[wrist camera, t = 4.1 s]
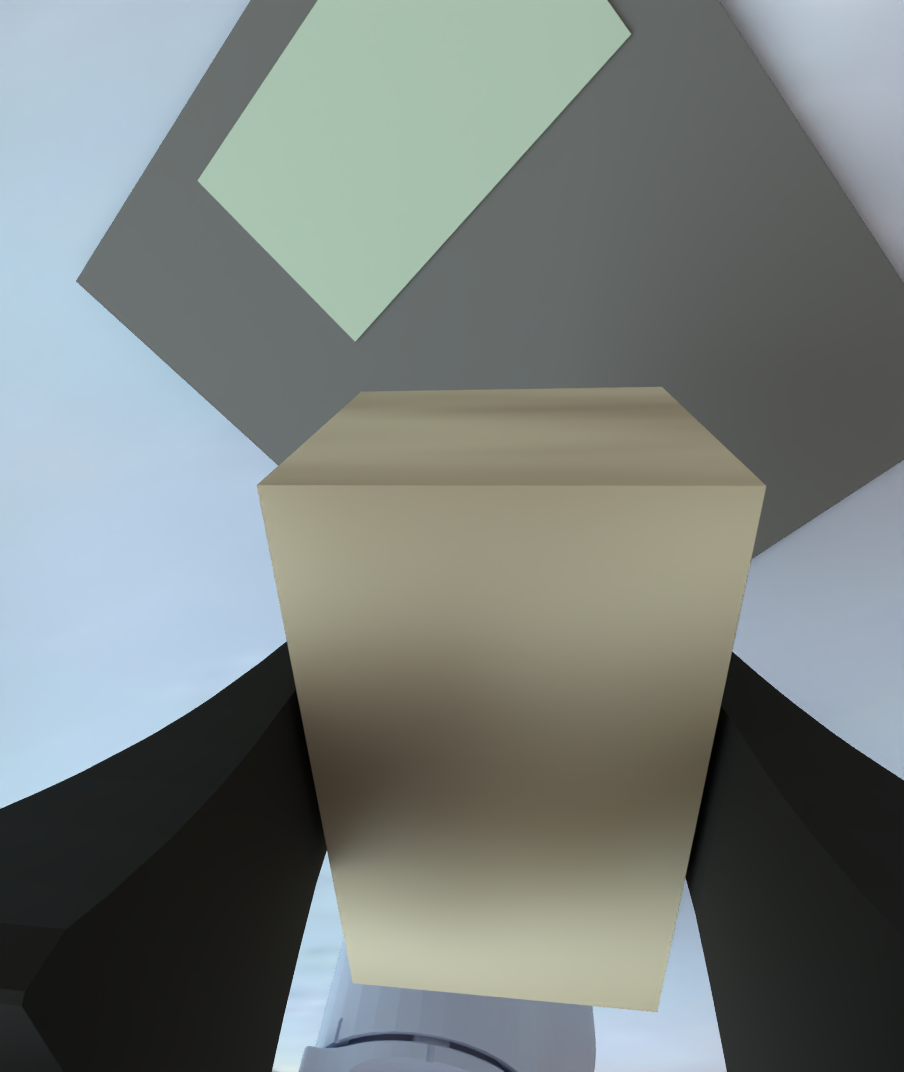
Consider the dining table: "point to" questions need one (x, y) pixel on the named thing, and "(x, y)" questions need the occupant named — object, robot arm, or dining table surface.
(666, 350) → the rubber mat
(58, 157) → the dining table surface
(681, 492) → the maple block
